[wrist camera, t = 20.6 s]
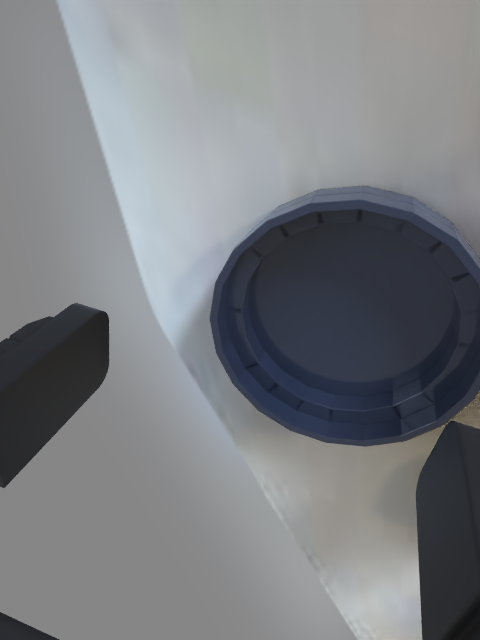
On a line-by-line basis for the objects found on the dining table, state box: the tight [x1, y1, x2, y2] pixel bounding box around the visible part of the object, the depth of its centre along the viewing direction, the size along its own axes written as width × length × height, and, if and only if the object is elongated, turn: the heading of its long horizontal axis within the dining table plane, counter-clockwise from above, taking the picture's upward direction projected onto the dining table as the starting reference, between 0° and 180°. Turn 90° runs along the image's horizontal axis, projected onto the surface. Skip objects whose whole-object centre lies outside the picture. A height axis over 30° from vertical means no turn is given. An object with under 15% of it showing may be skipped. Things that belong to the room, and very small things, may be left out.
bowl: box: [210, 186, 480, 447], centre depth 33 cm, size 19×19×4 cm
